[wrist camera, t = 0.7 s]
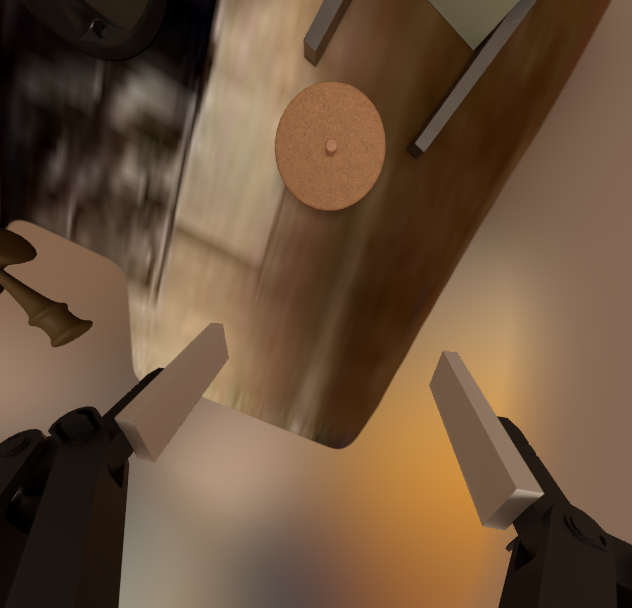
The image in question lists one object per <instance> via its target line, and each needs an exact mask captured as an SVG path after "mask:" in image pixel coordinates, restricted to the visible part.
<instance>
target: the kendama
mask: <svg viewBox="0 0 632 608" xmlns="http://www.w3.org/2000/svg"><path fill="white" fill-rule="evenodd" d="M36 255H37V253H36V250H35V248H34V247H33V246H32V245H31V243H30V242H28V241H27V240H25V239H24V238H23V237H21V236H20V235H18V234H16V233H14V232H12V231H10V230H6V229H3V228H0V294H1V293H2V291H3V290H4V288H5V289H6V290H7V291H8V292H9V293H10V294H11V295H12V296H13V298H15V300H16V301H17V302H18V303H19V304H20V305H21V306H22V307H23V309H24V310H25V311H26V313H27V314H28V316H29V321H28V324H29V325H30V326H36V327H39V328H41V329H42V330H44V331H45V332H46V333H47V334H48V335H49V337H50V338H51V345H52V346H53V347H58V346H62V345H65V344H67V343H69V342H71V341H73V340H74V339H76V338H78V337H80V336H81V335H82V334H84V333H85V332H87V331H88V330H89V329H90V328H91V326H92V324H93V322H92V321H88V320H81V319H79V318H77V317H76V316H74V315H73V314H72V313H71V312H70V311H69V310H68V306H67V304H66V303H57V302H55V301H52V300H50V299H48V298H46V297H45V296H43V295H41V294H39V293H38V292H36V291H34V290H33V289H31V288H29V287H28V286H26V285H25V284H23V283H22V282H20V281H19V280H17V279H16V278H14V277H13V276H11V275H10V274H8V273H7V272H5V271H4V270H3V269H4V268H5V267H6V266H8V265H12V264H20V263H25V262H28V261H31V260H33V259H34V258H35V257H36Z"/></svg>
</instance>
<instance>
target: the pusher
mask: <svg viewBox="0 0 632 608" xmlns="http://www.w3.org/2000/svg"><path fill="white" fill-rule="evenodd" d="M428 1H429V2H430V3H431V4H432V5H433V6H434V7H435V8H436V9H437V11H438V12H439V13H440V14H441V15H442V16H443V17H444V18H445V19H446V21H447V22H448V23H449V24H450V25H451V26H452V27H453V28H454V29H455V31H456V32H457V33H458V34H459V35H460V36H461V37H462V38H463V40H464V41H465V42H466V43H467V44H468V45H469V46H470V47H471V48H472V50H473V51H474V49H475V48H476V47H477V46H478V45H479V44H480V43H481V42H482V41H483V40H484V39H485V37H486V36H487V35H488V34H489V33H490V32H491V31H492V30H493V29H494V28H495V27H496V26H497V24H498V23H499V22H500V21H501V20H502V19H503V18H504V17H505V16H506V15H507V14H508V12H509V11H510V10H511V9H512V8H513V7H514V6H515V5H516V4H517V3H518V2H519V0H428Z"/></svg>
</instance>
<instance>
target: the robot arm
mask: <svg viewBox="0 0 632 608" xmlns="http://www.w3.org/2000/svg"><path fill="white" fill-rule="evenodd" d="M20 1H21V2H22V3H23V4H24V5H25V6H26V8H27V9H28V10H29V11H30V12H31V13H32V14H33V15H34V16H35V17H36V18H37V19H38V20H40V21H41V22H42V23H43V24H44V25H45V26H46V27H48V28H49V29H50V30H51V31H53V32H54V33H55V34H57V35H58V36H59V37H61V38H62V39H64V40H65V41H66V42H68V43H69V44H70V45H72V46H73V47H75V48H76V49H78V50H80V51H82V52H83V53H85V54H88V55H90V56H93V57H96V58H100V59H105V60H122V59H126V58H129V57H132V56H134V55H136V54H138V53H140V52H141V51H142V50H144V49H145V48H146V47H147V46H148V45H149V44H150V43H151V41H152V40H153V39H154V37H155V36H156V34H157V32H158V30H159V28H160V26H161V24H162V21H163V18H164V14H165V10H166V5H167V0H20ZM228 358H229V356H228V351H227V345H226V340H225V334H224V328H223V324H218V323H210V324H209V325H208V326H207V327H206V328H205V329H204V330H203V331H202V332H201V333H200V334H199V335H198V336H197V337H196V338H195V339H194V340H193V341H192V342H191V343H190V344H189V345H188V346H187V347H186V348H185V349H184V350H183V351H182V352H181V353H180V354H179V355H178V356H177V357H176V358H175V359H174V360H173V361H172V362H171V363H170V364H169V365H168V366H167V367H166V368H158V369H156V370H154V371H153V372H151V373H149V374H148V375H147V376H145V377H144V378H143V379H142V380H141V381H140V382H139V384H138V385H136V386H135V387H134V388H133V389H131V392H128V393H127V394H126V395H125V396H124V397H123V398H122V399H121V400H120V401H119V402H118V403H116V404H115V405H114V406H113V407H112V408H111V409H110V410H109V411H108V412H107V413H106V414H105V415H104V416H103V417H101V415H100V413H99V412H98V410H97V409H96V408H94V407H82V408H78V409H75V410H73V411H71V412H68V413H67V414H65V415H64V416H62V417H60V418H59V419H58V420H57V421H56V422H55V423H53V424H52V426H51V427H50V429H49V430H48V432H49V433H50V434H51V435H52V436H48V437H46V436H45V435H44V434H43V433H42V431H40V430H37V429H31V430H26V431H23V432H20V433H17V434H15V435H14V436H11V437H9V438H8V439H6V440H4V441H3V442H1V443H0V608H118V606H119V591H120V580H121V579H120V578H121V566H122V553H123V540H124V527H125V514H126V500H127V487H128V473H129V461H128V458H129V457H130V456H131V454H132V453H133V452H134V453H135V454H136V456H137V458H138V459H140V460H145V461H150V462H155V461H156V460H157V458H158V457H159V456H160V454H161V453H162V451H163V450H164V449H165V447H166V446H167V444H168V443H169V442H170V440H171V439H172V437H173V436H174V435H175V433H176V432H177V430H178V429H179V427H180V426H181V425H182V423H183V422H184V420H185V419H186V418H187V416H188V415H189V413H190V412H191V411H192V409H193V408H194V406H195V405H196V404H197V402H198V401H199V399H200V398H201V397H202V395H203V394H204V392H205V391H206V389H207V388H208V387H209V385H210V384H211V382H212V381H213V380H214V378H215V377H216V375H217V374H218V373H219V371H220V370H221V368H222V367H223V366H224V364H225V363H226V361H227V360H228ZM429 386H430V388H431V391H432V394H433V397H434V399H435V402H436V404H437V407H438V410H439V412H440V415H441V418H442V420H443V423H444V426H445V428H446V431H447V434H448V436H449V439H450V442H451V444H452V447H453V450H454V452H455V454H456V457H457V460H458V463H459V465H460V468H461V471H462V473H463V476H464V478H465V481H466V484H467V487H468V489H469V492H470V494H471V497H472V500H473V502H474V505H475V508H476V510H477V513H478V515H479V518H480V521H481V523H482V526H485V527H490V528H496V529H501V530H506V529H507V528H508V527H509V526H510V525H511V524H512V523H513V525H514V527H515V529H516V532H517V534H518V536H517V537H516V538H515V539H514V540H512V541H511V542H510V543H509V544H508V545H507V547H506V550H508V551H511V550H512V549H513V550H512V555H511V559H510V562H509V567H508V571H507V575H506V579H505V583H504V587H503V591H502V595H501V599H500V603H499V607H498V608H632V545H631V544H629V543H627V542H625V541H622V540H620V539H618V538H616V537H614V536H612V535H610V534H608V533H606V532H605V531H604V530H603V529H602V528H601V527H600V526H599V525H598V524H597V523H596V522H595V521H594V520H593V519H592V518H591V517H590V516H588V515H587V514H586V513H585V512H583V511H582V510H580V509H578V508H576V507H575V506H573V505H571V504H570V502H569V501H568V500H567V498H566V497H565V495H564V494H563V493H562V491H561V490H560V488H559V487H558V485H557V484H556V482H555V481H554V479H553V478H552V476H551V475H550V473H549V472H548V470H547V469H546V468H545V466H544V465H543V463H542V462H541V460H540V459H539V457H538V456H536V453H535V451H534V450H533V448H532V447H531V446H530V445H529V442H528V441H527V440H526V438H525V437H524V435H523V434H522V432H521V431H520V429H519V428H518V427H516V426H515V425H514V424H513V423H512V422H511V421H510V420H509V419H508V418H504V417H498V416H496V414H495V413H494V411H493V410H492V408H491V406H490V405H489V403H488V402H487V400H486V399H485V397H484V395H483V394H482V392H481V390H480V389H479V387H478V386H477V384H476V382H475V380H474V379H473V377H472V376H471V374H470V372H469V371H468V369H467V368H466V366H465V364H464V363H463V361H462V359H461V358H460V356H459V354H458V353H457V352H449V351H443V352H442V355H441V357H440V359H439V362H438V365H437V367H436V370H435V372H434V375H433V378H432V380H431V382H430V385H429ZM17 491H18V493H17ZM16 493H17V495H16V496H15V494H16ZM14 496H15V498H14V499H13V497H14ZM12 499H13V500H12ZM11 500H12V501H11Z"/></svg>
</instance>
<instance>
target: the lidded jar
mask: <svg viewBox="0 0 632 608" xmlns="http://www.w3.org/2000/svg"><path fill="white" fill-rule="evenodd" d="M385 146H386V142H385V132H384V128H383V124H382V121H381V118H380V116H379V113H378V112H377V110H376V108H375V106H374V105H373V103H372V102H371V101H370V100H369V99H368V97H367V96H365V95H364V94H363V93H362V92H361V91H359V90H358V89H356V88H354V87H353V86H350V85H348V84H345V83H341V82H334V81H332V82H322V83H318V84H314V85H312V86H310V87H308V88H306V89H305V90H303V91H302V92H301V93H299V94H298V95H297V96H296V97H295V98H294V99H293V100H292V101H291V102H290V104H289V105H288V106H287V108H286V109H285V111H284V113H283V115H282V117H281V119H280V122H279V125H278V128H277V133H276V139H275V154H276V161H277V166H278V170H279V172H280V175H281V177H282V179H283V181H284V183H285V185H286V186H287V188H288V189H289V190H290V192H291V193H292V194H293V195H294V196H295V197H296V198H297V199H298V200H299V201H301V202H302V203H304V204H305V205H307V206H309V207H311V208H314V209H318V210H323V211H336V210H340V209H344V208H346V207H349V206H351V205H353V204H355V203H356V202H358V201H359V200H360V199H362V198H363V197H364V196H365V195H366V194H367V193H368V192H369V191H370V190H371V188H372V187H373V185H374V184H375V182H376V181H377V179H378V176H379V174H380V172H381V169H382V166H383V163H384V157H385Z"/></svg>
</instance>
